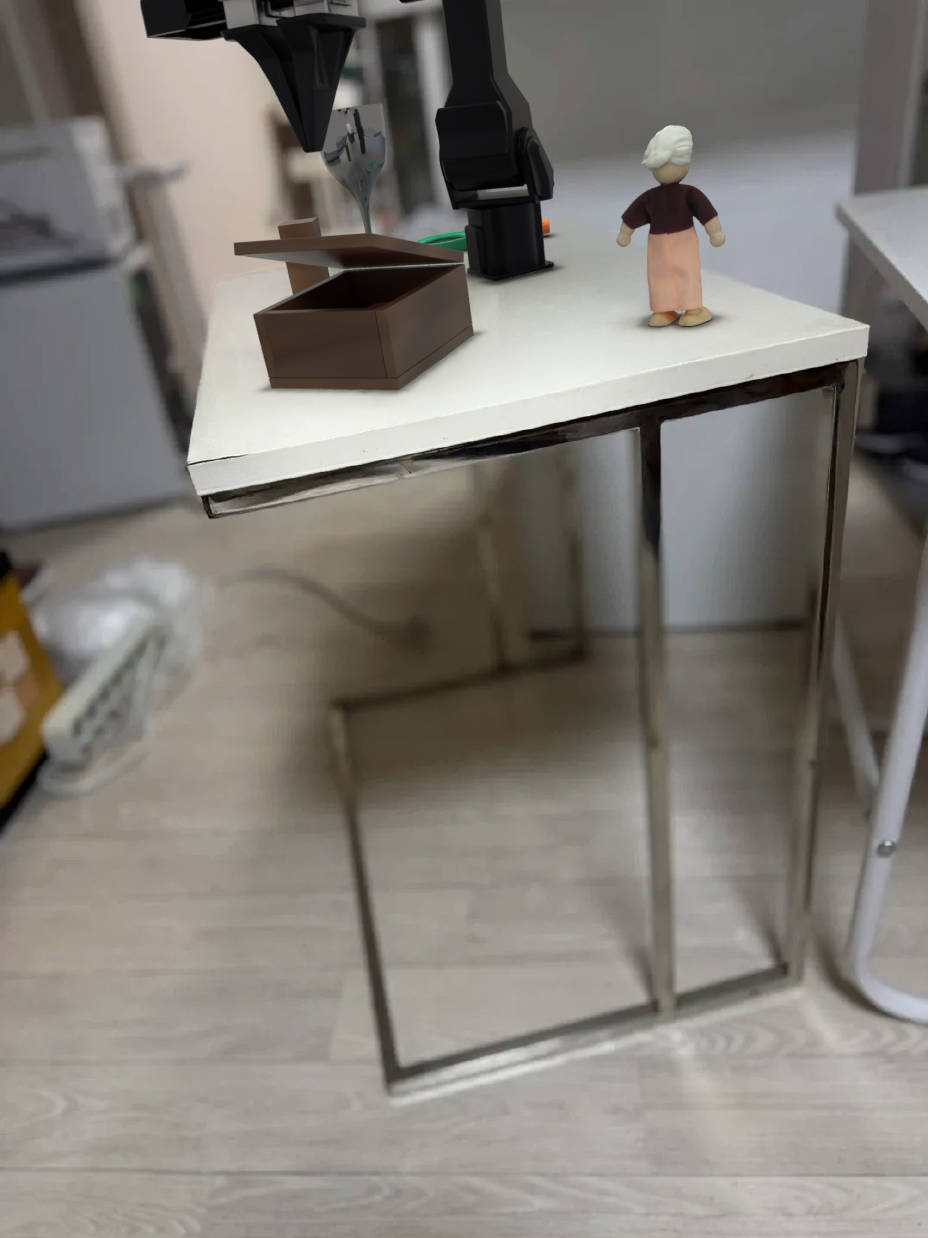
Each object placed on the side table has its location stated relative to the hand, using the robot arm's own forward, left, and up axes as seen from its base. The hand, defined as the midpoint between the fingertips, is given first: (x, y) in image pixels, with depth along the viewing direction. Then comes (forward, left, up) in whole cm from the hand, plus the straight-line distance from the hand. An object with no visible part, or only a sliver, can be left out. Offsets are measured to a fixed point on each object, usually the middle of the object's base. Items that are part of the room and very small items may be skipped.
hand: (313, 152), depth 59 cm
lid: (-2, -2, -7) cm, 8 cm away
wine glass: (-18, -44, -15) cm, 50 cm away
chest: (-2, -2, -15) cm, 15 cm away
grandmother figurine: (-22, +8, -15) cm, 27 cm away
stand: (-6, -29, -15) cm, 33 cm away
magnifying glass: (-28, -35, -15) cm, 47 cm away
